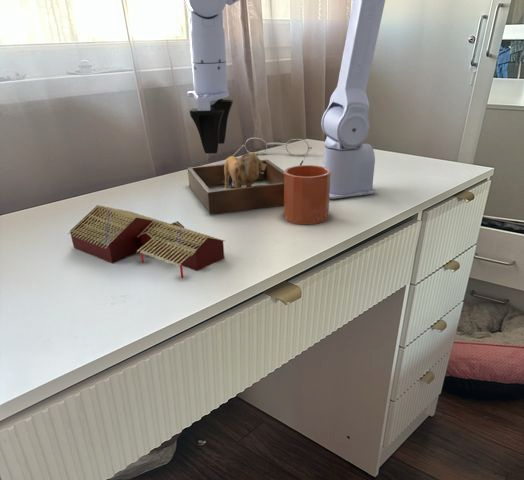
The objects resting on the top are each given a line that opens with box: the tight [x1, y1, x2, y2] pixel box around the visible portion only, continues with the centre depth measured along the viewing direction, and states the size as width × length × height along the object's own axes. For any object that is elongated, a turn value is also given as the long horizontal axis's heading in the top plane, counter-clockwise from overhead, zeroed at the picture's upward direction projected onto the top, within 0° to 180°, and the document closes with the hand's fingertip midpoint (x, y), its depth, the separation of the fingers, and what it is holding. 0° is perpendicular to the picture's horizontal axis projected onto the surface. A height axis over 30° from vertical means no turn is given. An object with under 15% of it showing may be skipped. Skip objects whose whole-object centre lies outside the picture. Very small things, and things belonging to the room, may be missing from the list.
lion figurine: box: [221, 151, 266, 189], centre depth 100 cm, size 15×5×9 cm, turn 33°
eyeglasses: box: [232, 137, 313, 166], centre depth 121 cm, size 18×19×4 cm
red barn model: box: [67, 204, 226, 279], centre depth 77 cm, size 22×13×5 cm, turn 51°
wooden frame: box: [187, 159, 284, 215], centre depth 101 cm, size 18×19×4 cm
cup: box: [283, 164, 331, 226], centre depth 88 cm, size 8×8×8 cm
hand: (215, 148), depth 92 cm, fingers open, 7 cm apart
